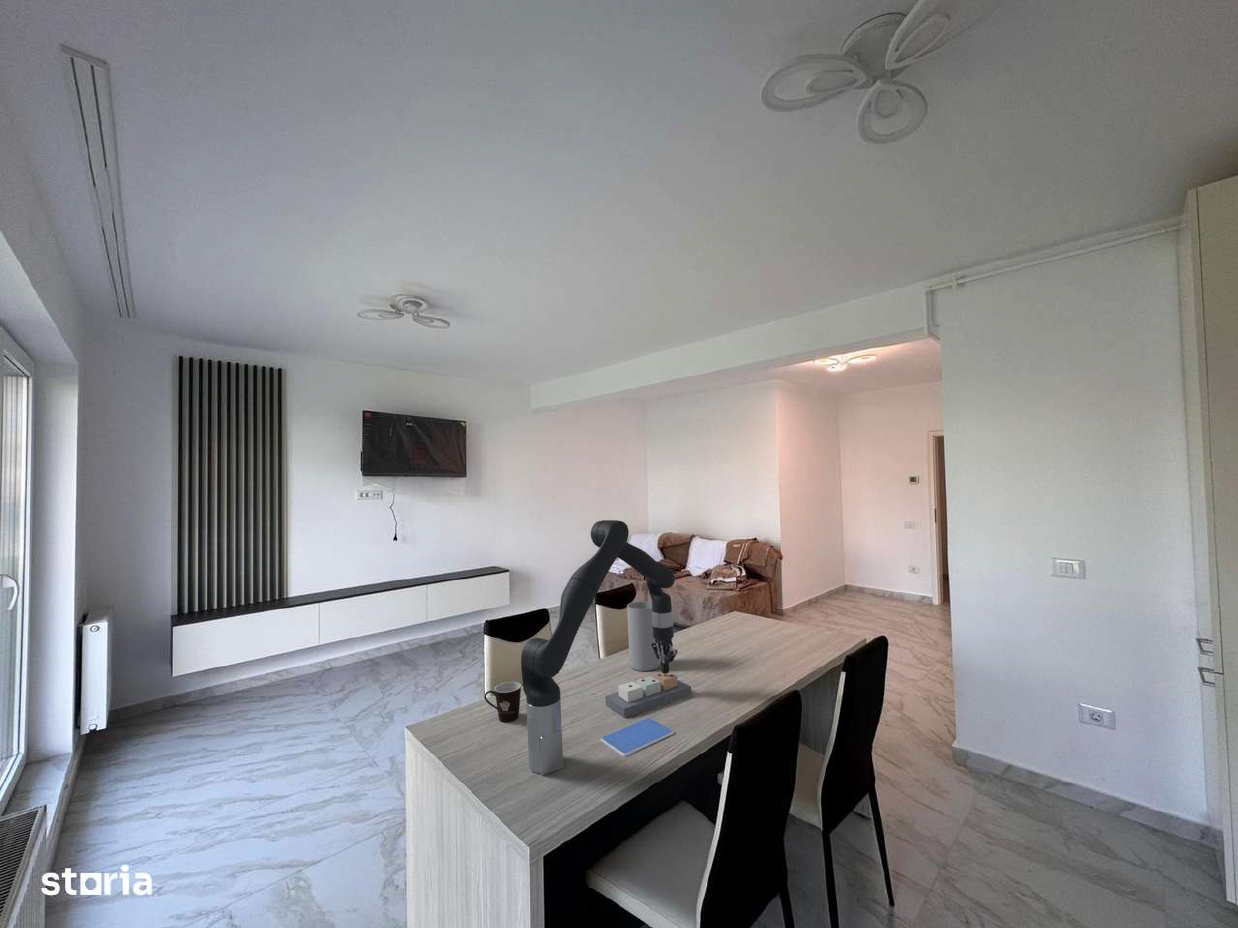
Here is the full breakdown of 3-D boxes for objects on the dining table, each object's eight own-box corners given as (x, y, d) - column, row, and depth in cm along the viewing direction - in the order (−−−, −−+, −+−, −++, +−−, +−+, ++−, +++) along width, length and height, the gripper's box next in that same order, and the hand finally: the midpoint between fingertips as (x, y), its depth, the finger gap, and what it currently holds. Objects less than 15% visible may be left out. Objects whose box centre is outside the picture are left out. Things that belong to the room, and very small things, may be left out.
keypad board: (691, 694, 170) (690, 686, 170) (624, 718, 155) (624, 708, 155) (670, 684, 180) (670, 675, 180) (605, 704, 166) (605, 695, 166)
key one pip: (643, 697, 163) (642, 686, 163) (628, 702, 160) (627, 690, 160) (633, 691, 168) (632, 680, 168) (618, 696, 165) (618, 685, 165)
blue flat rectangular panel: (624, 759, 133) (624, 754, 133) (598, 741, 143) (598, 736, 143) (675, 735, 144) (675, 731, 144) (649, 720, 154) (648, 716, 154)
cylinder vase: (660, 660, 205) (657, 601, 206) (659, 671, 193) (656, 608, 194) (631, 660, 206) (628, 601, 208) (628, 672, 194) (625, 609, 195)
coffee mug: (527, 714, 161) (526, 684, 161) (509, 726, 154) (508, 694, 154) (502, 708, 167) (501, 678, 167) (483, 718, 159) (482, 688, 160)
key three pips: (677, 686, 171) (677, 675, 171) (664, 690, 168) (663, 679, 168) (667, 680, 176) (666, 670, 176) (654, 684, 173) (653, 674, 173)
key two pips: (660, 691, 167) (660, 680, 167) (646, 696, 164) (646, 685, 164) (650, 686, 172) (650, 675, 172) (636, 690, 169) (636, 679, 169)
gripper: (682, 625, 169) (685, 675, 168) (660, 618, 181) (662, 665, 180) (665, 629, 165) (668, 681, 165) (643, 621, 177) (646, 669, 176)
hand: (665, 672), depth 172 cm, fingers closed
